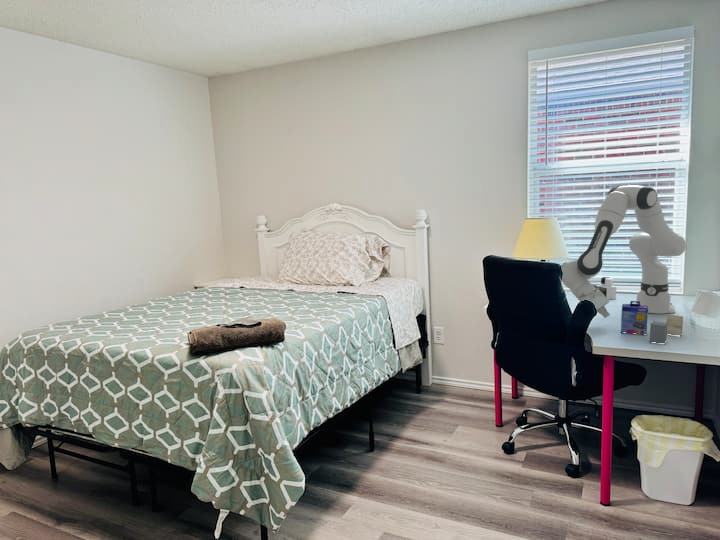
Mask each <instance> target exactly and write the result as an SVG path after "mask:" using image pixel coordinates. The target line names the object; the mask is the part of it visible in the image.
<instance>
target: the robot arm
mask: <svg viewBox="0 0 720 540" xmlns="http://www.w3.org/2000/svg"><path fill="white" fill-rule="evenodd" d="M627 210H634V215H635V219H636V222H637V226H638V228H639V229H640V231H642V232H644V233H636V234H633V235H632V236H631V237H630V239H629V242H628V247H629V249H630V251H631V252H632V253H633V254H634V255H636V257H637V258H638V260H639V262H640V265H641V275H642V276H641V282H640V291H638V292H637V293H636V300H635V301H640V305H647V306H648V314H675V313H676V310H675V304H673V302H671V297H672V296H671V295H670V293H669V287H670V285H669V283H668V281H669V277H668V276H669V269H668V267H667V266H666V265H665V264H664V263H662V262H661V261H660V259H659V258H658V257H667V258H671V257H672V258H673V257H679V256H680V257H681V256H682V255H683V254H684V253H685V251H686V249H687V242H686V240H685V238H684V237H683V236H681V235H680V234H677V233H676V232H675V231H674V230H672V228H671V227H670V226H669V225H668V224H667V222H666V220H665V216H664V213H663V210H662V206H661V203H660V199H659V198H658V193H657V191H656V190H655V189H654V188H653V187H651V186H646V185H645V186H643V185H617V186H616V185H615V186H614V187H613V186H612V187H611V188H610V189H609V190H608V192H607V195H606V196H605V198H604V200H603V201H602V203H601V204H600V207H599V209H598V212H597V215H596V218H595V221H594V233H593V236H592V239H591V240H590V243H589V245H588V247H587V249H586V250H585V251H584V252H583V253H582V254H581V255H580V256H579V257H578V258H577V259H575V260H569V261H568V260H567V261H564V262H563V263H562V264H561V265H560V266H561V267H562V272H563V276H562V281H561V283H563V284H564V286H565V287H566V288H568V289H569V290H570V291H571V293H572V295H574V297H575V298H576V299H577V300H578V301H579V303H580V302H581V301H584V300H588V301H591V302H592V303H593V304H594V305H595V308H596V310H597V311H596V312H597V313H598V314H599V315H601V316H602V317H603V318H605V319H606V318H607V317H609V316H610V315H611V314H610V312H609V311H608V310H607V308H606V307H605V306H607V305H608V304H609V302H610V301H609V300H608V299H607V298H606V297H605V296H604V294H603V293H602V292H601V291H600V290H598V289H599V288H598V286H599V285H597V284H594V283H591V282H590V281H589V280H590V279H592V278H594V277H596V276H597V275H598V274H599V273H600V271H601V270H602V269H603V264H604V262H603V254H604V251H605V248H606V246H607V243H608V241H609V240H610V238H611V236H612V235H613V234H615V233H617V231H618V230H619V228H620V226H621V225H622V223H623V221H624V219H625V216H626V213H627ZM635 304H639V303H636V302H635Z"/></svg>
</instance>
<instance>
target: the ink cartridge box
mask: <svg viewBox="0 0 720 540" xmlns="http://www.w3.org/2000/svg"><path fill="white" fill-rule="evenodd" d="M636 303H639V304H636ZM648 314H649V313H648V306H647V305H640V301H636V300H630V303H622V305H621V318H620V319H621V321H620V326H621V327H620V333H621V332H626V333H636V334H647V335H648V331H647V330H648V316H649V315H648Z"/></svg>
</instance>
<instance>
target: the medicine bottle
mask: <svg viewBox="0 0 720 540" xmlns="http://www.w3.org/2000/svg"><path fill="white" fill-rule="evenodd" d="M597 286H598V288H599V289H598V290H600V291H601V292H602V293H603V294H604V296H605V297H606V298H607V299H608V301H609V300H617V286H615V285H614V279H613V277H611V276H610V277H609V276H608V277H607V276H604V277H601V278H600V285H597Z"/></svg>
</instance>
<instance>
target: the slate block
mask: <svg viewBox="0 0 720 540" xmlns="http://www.w3.org/2000/svg"><path fill="white" fill-rule="evenodd" d="M649 329H650V330H649V343H650V342H656V343H665V341H666V340H668V339H667V337H668V336H667V322H662V321H654V320H653V321H652V322H651V323H650V328H649ZM666 342H667V341H666ZM665 344H666V343H665Z"/></svg>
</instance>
